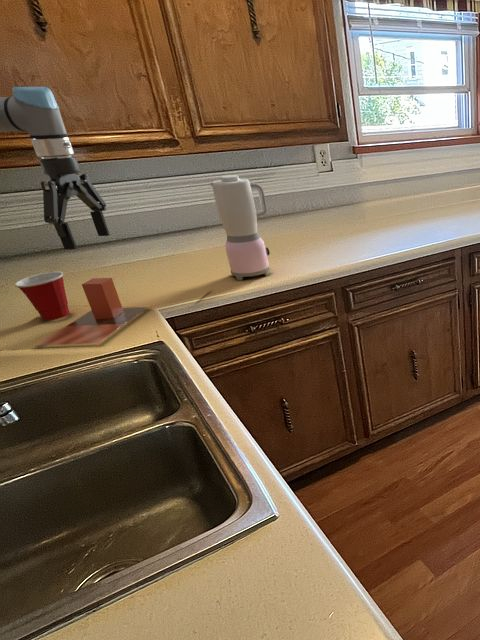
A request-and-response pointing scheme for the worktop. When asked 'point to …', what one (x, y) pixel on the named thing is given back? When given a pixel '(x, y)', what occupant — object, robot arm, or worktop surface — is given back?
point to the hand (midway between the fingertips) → (88, 242)
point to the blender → (241, 225)
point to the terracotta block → (102, 298)
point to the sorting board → (90, 328)
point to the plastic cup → (46, 294)
